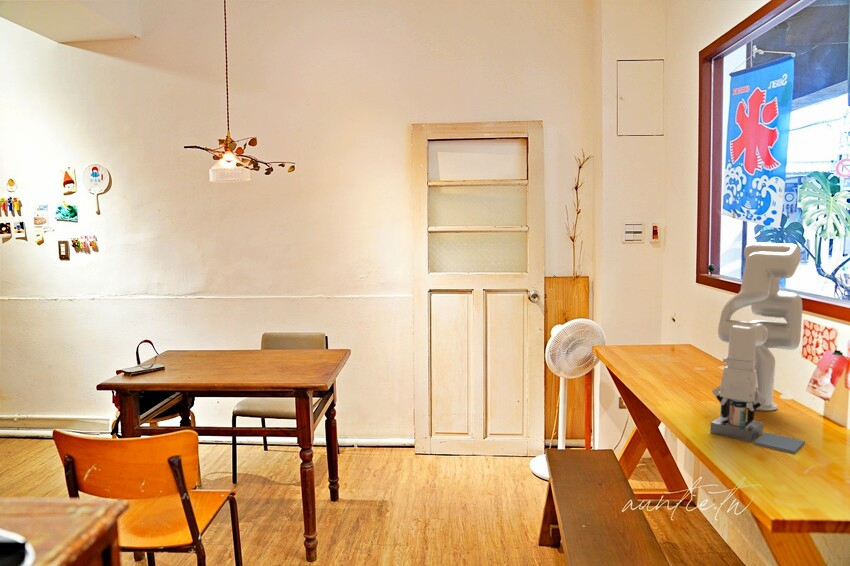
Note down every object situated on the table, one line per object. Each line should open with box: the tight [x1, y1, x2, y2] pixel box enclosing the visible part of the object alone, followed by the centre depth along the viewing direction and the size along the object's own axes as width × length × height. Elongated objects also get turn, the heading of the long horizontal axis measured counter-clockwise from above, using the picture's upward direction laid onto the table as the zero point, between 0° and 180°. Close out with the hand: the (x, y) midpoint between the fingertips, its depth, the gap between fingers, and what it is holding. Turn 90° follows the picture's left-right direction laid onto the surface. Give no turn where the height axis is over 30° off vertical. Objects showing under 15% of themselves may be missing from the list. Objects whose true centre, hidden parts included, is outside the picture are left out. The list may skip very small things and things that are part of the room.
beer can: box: [729, 399, 748, 427], centre depth 198 cm, size 5×5×12 cm
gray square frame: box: [709, 415, 764, 443], centre depth 199 cm, size 12×12×4 cm
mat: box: [753, 432, 806, 455], centre depth 190 cm, size 12×11×1 cm
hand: (737, 418), depth 199 cm, fingers open, 6 cm apart
